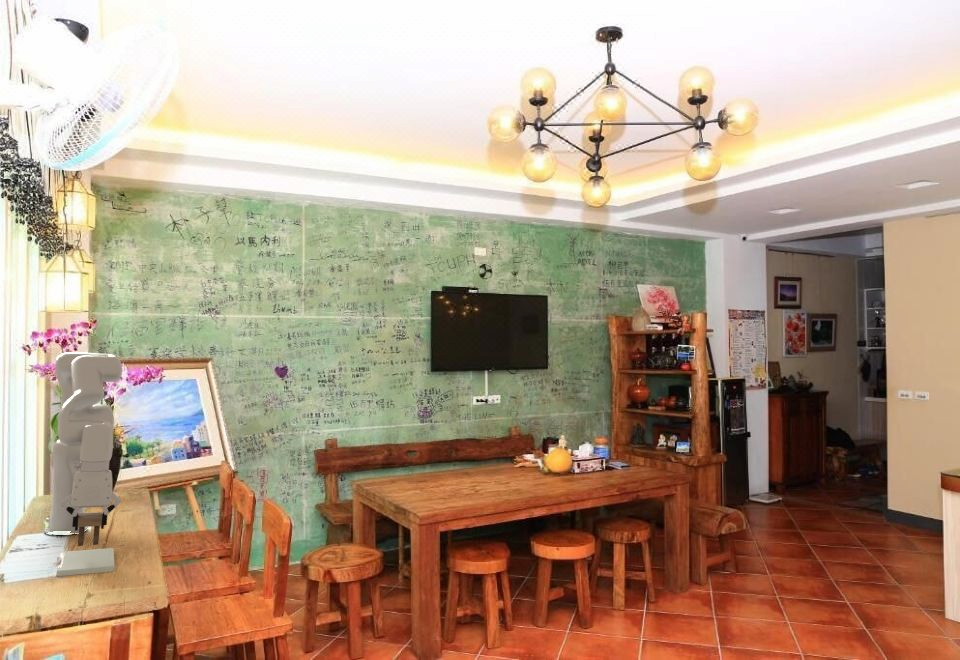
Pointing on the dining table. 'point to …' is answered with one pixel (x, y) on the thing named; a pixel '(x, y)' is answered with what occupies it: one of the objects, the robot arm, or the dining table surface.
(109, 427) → the robot arm
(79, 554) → the board
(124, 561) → the dining table surface
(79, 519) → the stool
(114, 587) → the dining table surface
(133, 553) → the dining table surface
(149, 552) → the dining table surface
